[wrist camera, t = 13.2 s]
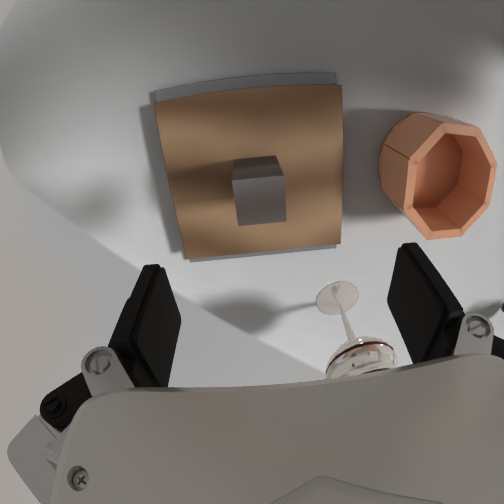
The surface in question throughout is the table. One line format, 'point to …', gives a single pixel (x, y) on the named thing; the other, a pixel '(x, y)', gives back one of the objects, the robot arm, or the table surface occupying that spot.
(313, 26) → the table surface
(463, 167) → the bowl
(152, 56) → the table surface
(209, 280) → the table surface
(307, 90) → the cover
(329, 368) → the wineglass
